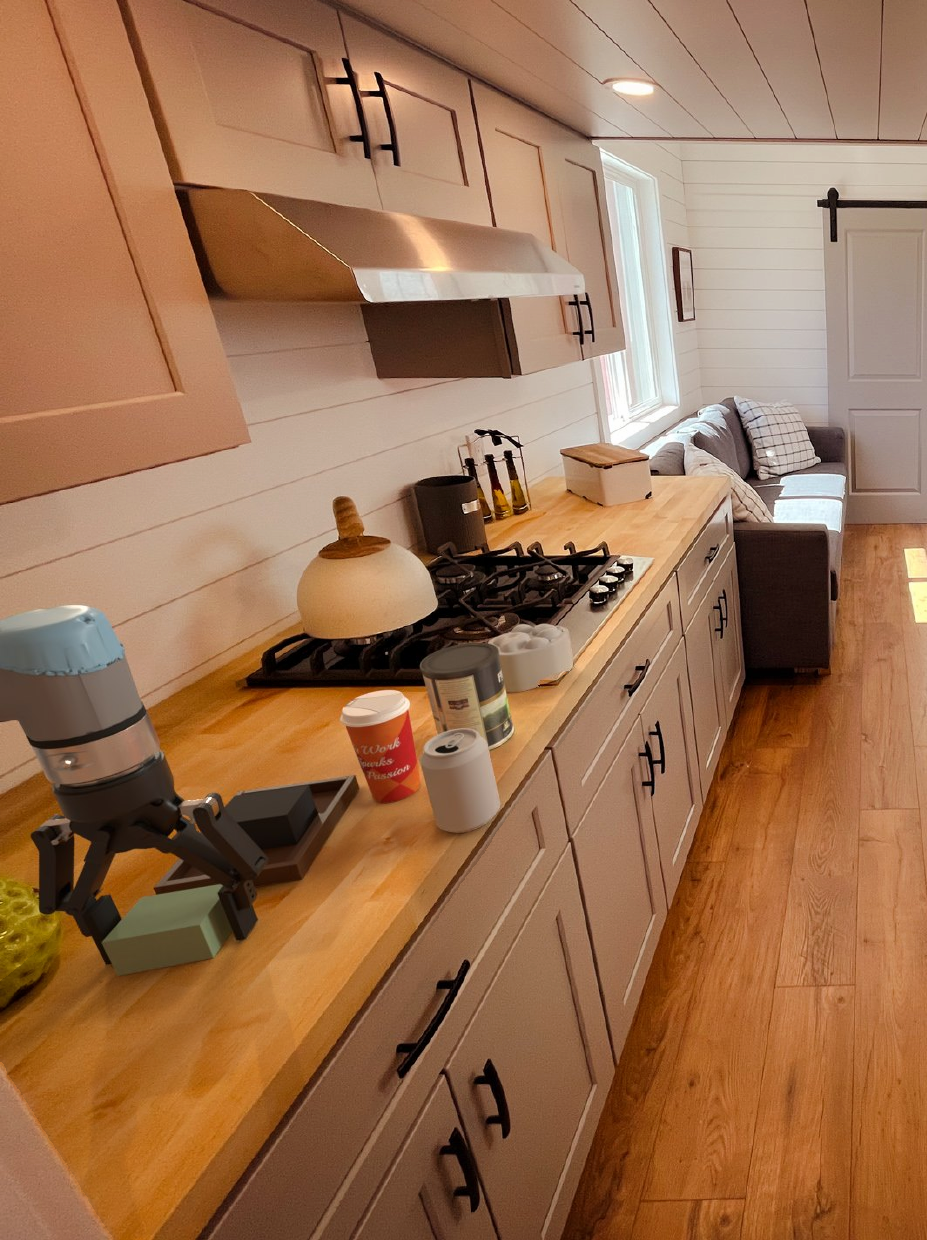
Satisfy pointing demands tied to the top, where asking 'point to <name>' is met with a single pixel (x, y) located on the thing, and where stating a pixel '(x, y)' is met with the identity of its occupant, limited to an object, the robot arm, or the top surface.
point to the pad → (169, 931)
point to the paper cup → (384, 743)
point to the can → (460, 780)
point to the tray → (286, 859)
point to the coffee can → (468, 691)
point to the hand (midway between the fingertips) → (184, 941)
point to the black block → (274, 815)
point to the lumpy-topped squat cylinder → (532, 655)
